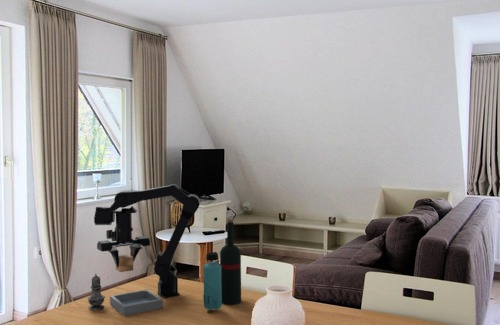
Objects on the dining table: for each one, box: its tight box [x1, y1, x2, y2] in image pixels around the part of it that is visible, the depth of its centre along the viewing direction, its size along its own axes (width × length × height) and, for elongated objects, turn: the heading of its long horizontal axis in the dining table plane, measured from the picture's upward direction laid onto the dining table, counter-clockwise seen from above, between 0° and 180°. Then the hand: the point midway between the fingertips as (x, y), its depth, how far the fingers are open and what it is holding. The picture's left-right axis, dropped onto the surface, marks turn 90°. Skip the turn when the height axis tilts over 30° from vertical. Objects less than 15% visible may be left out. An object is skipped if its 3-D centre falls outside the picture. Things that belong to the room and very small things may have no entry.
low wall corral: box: [109, 289, 164, 317], centre depth 185 cm, size 14×14×3 cm
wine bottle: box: [219, 217, 242, 306], centre depth 190 cm, size 8×10×30 cm
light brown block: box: [115, 253, 134, 273], centre depth 196 cm, size 5×5×5 cm
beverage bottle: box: [202, 251, 223, 310], centre depth 179 cm, size 6×7×20 cm
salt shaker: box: [87, 273, 106, 311], centre depth 183 cm, size 6×6×12 cm
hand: (124, 266), depth 196 cm, fingers closed on light brown block, 5 cm apart
